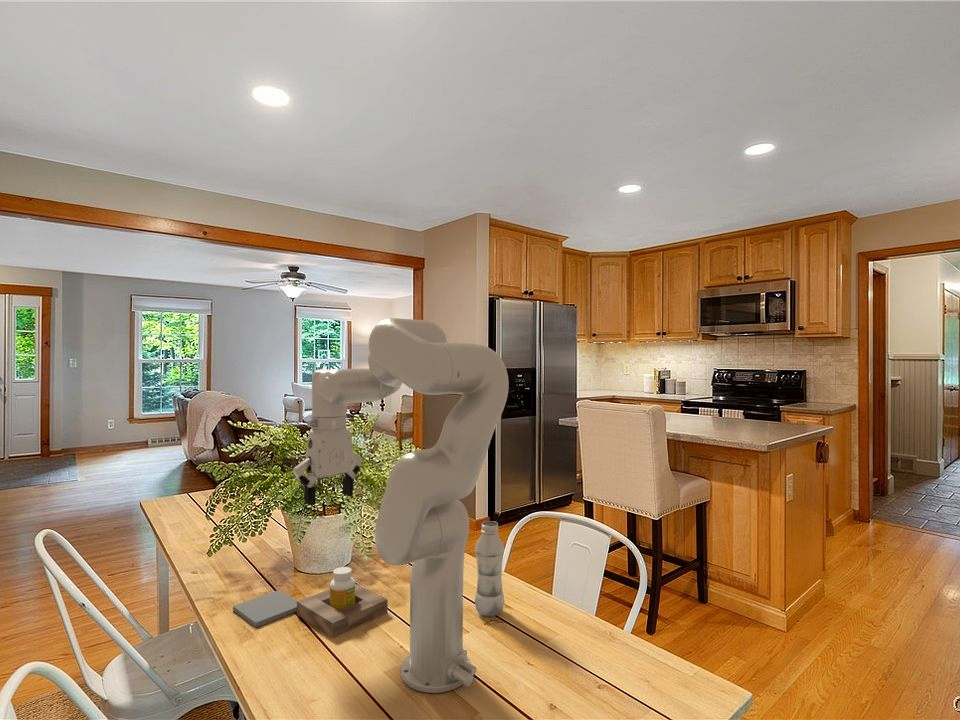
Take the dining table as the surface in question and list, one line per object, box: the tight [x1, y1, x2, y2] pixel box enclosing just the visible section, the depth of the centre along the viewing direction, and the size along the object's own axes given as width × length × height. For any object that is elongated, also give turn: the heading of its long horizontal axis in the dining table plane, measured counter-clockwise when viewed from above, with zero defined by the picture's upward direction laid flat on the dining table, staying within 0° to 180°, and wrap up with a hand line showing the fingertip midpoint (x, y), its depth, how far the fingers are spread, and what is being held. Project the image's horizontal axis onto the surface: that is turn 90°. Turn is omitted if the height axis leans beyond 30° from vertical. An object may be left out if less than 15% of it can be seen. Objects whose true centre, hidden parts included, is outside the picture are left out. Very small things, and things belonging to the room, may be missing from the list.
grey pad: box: [232, 589, 298, 628], centre depth 118 cm, size 11×11×1 cm
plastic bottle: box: [474, 520, 505, 618], centre depth 117 cm, size 6×7×20 cm
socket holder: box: [296, 583, 389, 639], centre depth 117 cm, size 14×14×3 cm
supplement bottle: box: [329, 566, 356, 610], centre depth 117 cm, size 5×5×10 cm
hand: (329, 499), depth 119 cm, fingers open, 9 cm apart
